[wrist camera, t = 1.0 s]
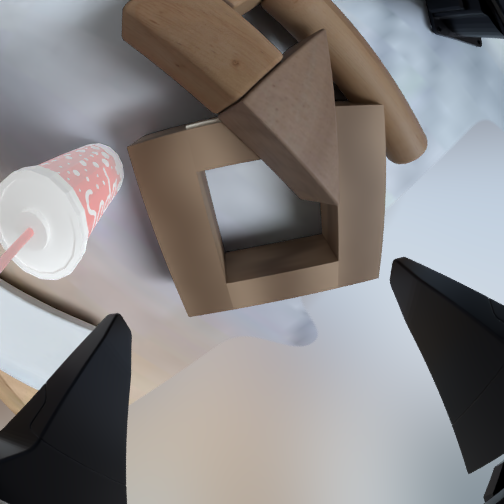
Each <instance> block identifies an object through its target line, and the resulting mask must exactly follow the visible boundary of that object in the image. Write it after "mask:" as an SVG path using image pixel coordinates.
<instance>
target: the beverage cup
mask: <svg viewBox="0 0 504 504" xmlns="http://www.w3.org/2000/svg"><path fill="white" fill-rule="evenodd" d="M123 178H124V174H123V165H122V162H121V160H120V158H119V156H118V154H117V153H116V152H115V151H113V150H112V149H111V148H110V147H109V146H106V145H103V144H100V143H97V144H88V145H86V146H83V147H80V148H78V149H75V150H72V151H70V152H67V153H65V154H62V155H60V156H58V157H55V158H53V159H50V160H48V161H46V162H44V163H41V164H39V165H36V166H29V167H23V168H20V169H19V170H16V171H14V172H12V173H11V174H10V175H9V176H8V177H7V178H6V179H4V180H3V181H2V182H1V183H0V243H1V245H2V246H3V248H4V250H5V252H4V254H3V255H2V256H1V257H0V273H1V272H2V271H3V269H4V268H5V267H6V266H7V264H8V263H9V262H10V261H11V260H13V261H14V262H15V263H16V264H17V265H18V266H19V267H20V268H21V269H22V270H23V271H25V272H27V273H29V274H31V275H33V276H35V277H37V278H39V279H49V280H58V279H60V278H62V277H65V276H67V275H69V274H71V273H72V271H73V270H74V268H75V267H76V265H77V264H78V263H79V261H80V260H81V258H82V255H83V254H84V253H85V251H86V245H87V239H88V237H89V235H90V234H91V232H92V231H93V229H94V227H95V226H96V224H97V222H98V221H99V219H100V218H101V216H102V215H103V213H104V211H105V210H106V208H107V207H108V205H109V204H110V202H111V201H112V199H113V198H114V196H115V195H116V194H117V192H118V191H119V189H120V188H121V184H122V181H123Z"/></svg>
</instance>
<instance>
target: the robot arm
mask: <svg viewBox="0 0 504 504" xmlns="http://www.w3.org/2000/svg"><path fill="white" fill-rule="evenodd" d="M426 3H427V7H428V11H429V16H430V20H431V25H432V30H433V32H434V33H435V34H437V35H440V36H444V37H448V38H451V39H455V40H458V41H461V42H464V43H467V44H470V45H473V46H476V47H481V46H482V41H481V38H500V39H504V0H426ZM437 28H438V30H437ZM477 42H478V43H477ZM390 284H391V287H392V290H393V292H394V294H395V297H396V299H397V302H398V304H399V307H400V309H401V312H402V314H403V316H404V319H405V321H406V324H407V325H408V328H409V330H410V332H411V333H412V335H413V337H414V340H415V341H416V343H417V346H418V347H419V350H420V351H421V354H422V356H423V358H424V360H425V362H426V364H427V366H428V369H429V371H430V373H431V375H432V377H433V380H434V382H435V384H436V387H437V389H438V391H439V394H440V396H441V398H442V401H443V403H444V406H445V408H446V411H447V413H448V416H449V418H450V421H451V424H452V427H453V429H454V432H455V435H456V438H457V441H458V444H459V447H460V450H461V453H462V456H463V459H464V462H465V465H466V469H467V472H468V474H470V473H472V472H474V471H476V470H477V469H479V468H481V467H483V466H485V465H486V464H488V463H490V462H491V461H493V460H495V459H496V458H498V457H499V456H501V455H502V454H504V305H502V304H499V303H498V302H496V301H494V300H492V299H490V298H488V297H486V296H485V295H483V294H481V293H479V292H477V291H475V290H473V289H471V288H469V287H467V286H465V285H463V284H461V283H459V282H457V281H455V280H453V279H451V278H449V277H447V276H445V275H443V274H441V273H438V272H436V271H434V270H432V269H430V268H428V267H426V266H424V265H421V264H419V263H417V262H415V261H413V260H410V259H408V258H406V257H401V258H397V259H395V260H394V261H393V263H392V269H391V276H390ZM131 343H132V335H131V331H130V329H129V327H128V326H127V324H126V322H125V321H124V319H123V317H122V316H121V315H120V314H119V313H115V314H109V315H107V316H106V317H105V318H104V319H103V320H102V321H101V322H100V323H99V324H98V326H97V327H96V328H95V329H94V330H93V331H92V332H91V333H90V334H89V335H88V336H87V337H86V338H85V339H84V340H83V341H82V342H81V344H80V345H79V346H78V347H77V348H76V349H75V350H74V351H73V352H72V353H71V354H70V355H69V357H68V358H67V359H66V360H65V361H64V362H63V363H62V364H61V365H60V367H59V368H58V369H57V370H56V371H55V372H54V373H53V375H52V376H51V377H50V378H49V379H48V380H47V381H46V384H44V385H43V386H42V387H41V388H40V390H39V391H38V392H37V393H36V394H35V395H34V396H33V397H32V399H31V400H30V401H29V402H28V403H27V404H26V405H25V406H24V407H23V408H22V409H21V410H20V411H19V412H18V413H17V415H16V416H15V417H14V418H13V419H12V420H11V421H10V422H9V423H8V424H7V425H6V426H5V427H4V428H3V429H2V430H1V431H0V504H127V495H126V438H127V418H128V404H129V392H130V382H131ZM484 500H485V503H484V504H504V460H503V461H502V462H501V463H499V464H498V465H497V466H495V468H494V470H493V473H492V476H491V479H490V481H489V484H488V487H487V489H486V492H485V494H484Z"/></svg>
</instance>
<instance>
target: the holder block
mask: <svg viewBox="0 0 504 504" xmlns="http://www.w3.org/2000/svg"><path fill="white" fill-rule="evenodd" d="M335 109H336V122H337V137H338V156H339V190H340V203H339V205H338V206H337V205H331V204H326V203H320V208H321V225H322V234H319V235H314V236H308V237H303V238H298V239H293V240H288V241H283V242H277V243H272V244H267V245H262V246H257V247H252V248H247V249H242V250H237V251H231V252H226V253H225V250H224V246H223V242H222V239H221V235H220V231H219V227H218V223H217V219H216V215H215V211H214V207H213V203H212V199H211V195H210V191H209V187H208V183H207V179H206V174H205V170H209V169H214V168H219V167H223V166H228V165H233V164H238V163H243V162H249V161H254V160H260V159H261V158H260V157H259V156H258V155H257V154H255V153H254V152H253V151H252V150H251V149H250V148H249V147H248V146H247V145H246V144H245V143H244V142H243V141H242V140H241V139H240V138H239V137H238V136H237V135H236V134H235V133H234V132H232V131H231V130H230V129H229V128H228V127H227V126H226V125H225V124H224V123H223V122H222V121H221V120H219V118H218V117H215V118H210V119H206V120H201V121H197V122H193V123H189V124H185V125H181V126H177V127H173V128H169V129H166V130H162V131H159V132H155V133H152V134H149V135H145V136H143V137H142V138H140V139H139V140H137V141H136V142H134V143H133V144H131V145H129V146H128V147H127V150H128V153H129V157H130V160H131V163H132V167H133V170H134V173H135V176H136V179H137V183H138V186H139V189H140V192H141V195H142V198H143V201H144V204H145V207H146V210H147V212H148V215H149V218H150V221H151V224H152V227H153V229H154V232H155V235H156V238H157V240H158V243H159V246H160V248H161V251H162V253H163V256H164V259H165V261H166V264H167V266H168V269H169V271H170V274H171V276H172V279H173V281H174V283H175V286H176V288H177V291H178V293H179V295H180V298H181V300H182V302H183V305H184V307H185V309H186V312H187V314H188V316H189V317H192V316H198V315H204V314H210V313H216V312H222V311H227V310H233V309H239V308H244V307H249V306H255V305H260V304H265V303H270V302H275V301H280V300H285V299H290V298H295V297H299V296H304V295H309V294H313V293H318V292H322V291H327V290H331V289H335V288H339V287H343V286H348V285H352V284H356V283H360V282H365V281H368V280H373V279H376V278H378V277H379V270H380V261H381V253H382V242H383V230H384V215H385V193H386V139H385V117H384V105H382V104H362V103H351V102H349V101H348V100H346V101H335Z"/></svg>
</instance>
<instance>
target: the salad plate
mask: <svg viewBox="0 0 504 504" xmlns="http://www.w3.org/2000/svg"><path fill="white" fill-rule="evenodd" d="M95 328H96V326H94V325H91V324H89V323H87V322H85V321H82V320H80V319H78V318H75V317H73V316H71V315H68V314H66V313H64V312H62V311H59V310H57V309H55V308H53V307H51V306H49V305H47V304H45V303H43V302H41V301H39V300H37V299H36V298H34V297H32V296H30V295H28V294H26V293H24V292H22V291H20V290H19V289H17V288H15V287H14V286H12V285H10V284H9V283H7V282H5V281H4V280H2V279H0V370H2V371H3V372H5V373H7V374H9V375H10V376H12V377H14V378H16V379H17V380H19V381H21V382H23V383H25V384H27V385H29V386H31V387H33V388H35V389H37V390H40V388H41V387H42V386H43V385H44V384H46V381H47V380H48V379H49V378H50V377H51V376H52V375H53V373H54V372H55V371H56V370H57V369H58V368H59V367H60V365H61V364H62V363H63V362H64V361H65V360H66V359H67V358H68V357H69V355H70V354H71V353H72V352H73V351H74V350H75V349H76V348H77V347H78V346H79V345H80V344H81V342H82V341H83V340H84V339H85V338H86V337H87V336H88V335H89V334H90V333H91V332H92V331H93V330H94V329H95Z"/></svg>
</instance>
